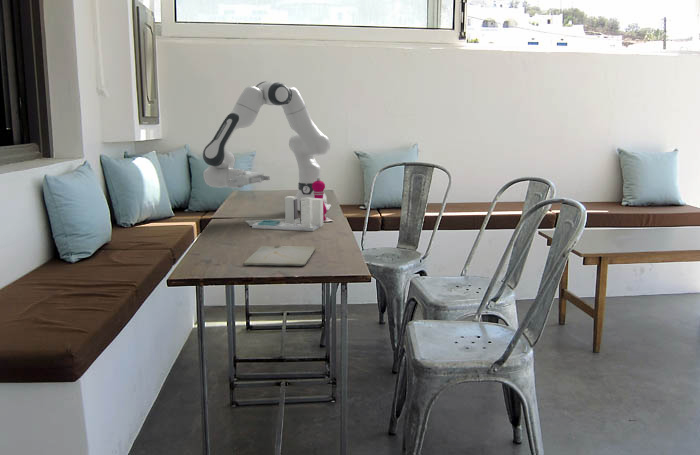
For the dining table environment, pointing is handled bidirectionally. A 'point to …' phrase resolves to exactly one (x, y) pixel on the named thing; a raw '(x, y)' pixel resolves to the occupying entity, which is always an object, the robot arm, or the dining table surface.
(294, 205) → the tall white upright block
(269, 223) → the rail
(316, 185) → the pepper mill
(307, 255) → the decorative slab
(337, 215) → the dining table surface
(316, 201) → the block
